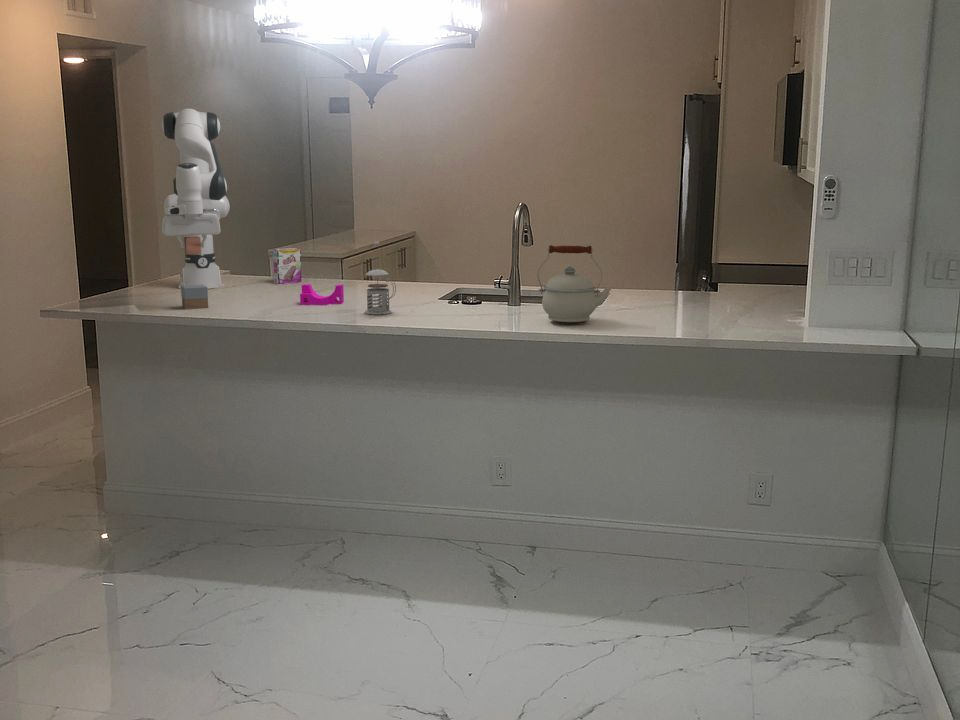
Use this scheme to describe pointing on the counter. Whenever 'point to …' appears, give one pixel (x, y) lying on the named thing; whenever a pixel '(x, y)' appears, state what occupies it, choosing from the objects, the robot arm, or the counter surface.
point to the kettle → (571, 291)
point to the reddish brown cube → (192, 245)
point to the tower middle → (194, 291)
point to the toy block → (313, 298)
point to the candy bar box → (287, 265)
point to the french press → (378, 290)
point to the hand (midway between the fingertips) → (192, 247)
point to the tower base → (195, 303)
